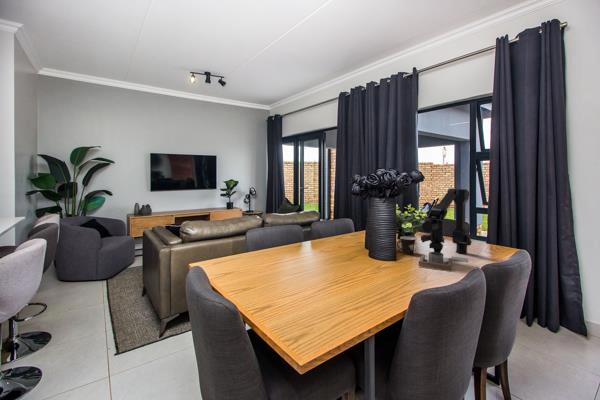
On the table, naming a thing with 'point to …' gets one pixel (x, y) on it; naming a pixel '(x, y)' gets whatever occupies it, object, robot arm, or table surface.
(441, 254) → the tumbler
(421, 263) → the corral
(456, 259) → the felt coaster
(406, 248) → the coffee mug
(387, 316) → the table surface
